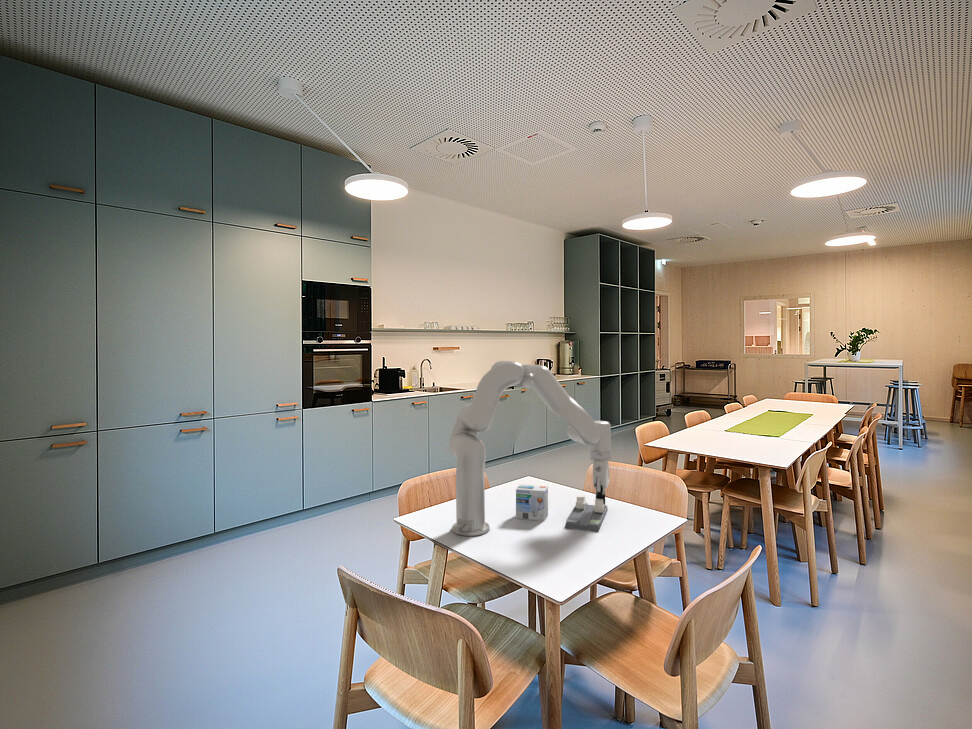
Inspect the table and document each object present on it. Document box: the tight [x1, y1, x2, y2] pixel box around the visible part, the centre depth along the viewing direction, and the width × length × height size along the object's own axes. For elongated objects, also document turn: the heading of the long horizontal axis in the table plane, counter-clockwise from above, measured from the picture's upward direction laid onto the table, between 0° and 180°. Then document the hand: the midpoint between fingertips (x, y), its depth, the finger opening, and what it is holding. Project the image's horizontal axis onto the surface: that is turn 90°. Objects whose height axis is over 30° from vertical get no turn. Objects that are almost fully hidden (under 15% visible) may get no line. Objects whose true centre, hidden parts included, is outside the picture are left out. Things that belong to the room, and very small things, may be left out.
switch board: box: [565, 502, 609, 533], centre depth 177 cm, size 23×11×2 cm, turn 159°
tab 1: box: [575, 494, 587, 509], centre depth 184 cm, size 4×3×4 cm
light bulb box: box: [515, 484, 549, 522], centre depth 180 cm, size 11×7×11 cm, turn 73°
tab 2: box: [594, 497, 604, 513], centre depth 180 cm, size 4×3×4 cm
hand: (600, 504), depth 183 cm, fingers closed
